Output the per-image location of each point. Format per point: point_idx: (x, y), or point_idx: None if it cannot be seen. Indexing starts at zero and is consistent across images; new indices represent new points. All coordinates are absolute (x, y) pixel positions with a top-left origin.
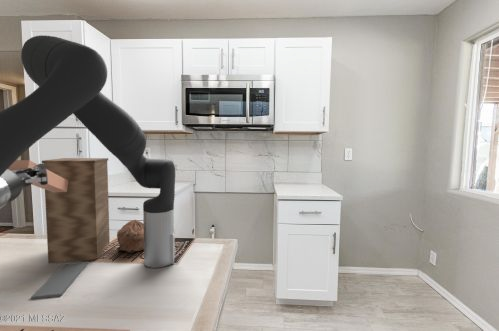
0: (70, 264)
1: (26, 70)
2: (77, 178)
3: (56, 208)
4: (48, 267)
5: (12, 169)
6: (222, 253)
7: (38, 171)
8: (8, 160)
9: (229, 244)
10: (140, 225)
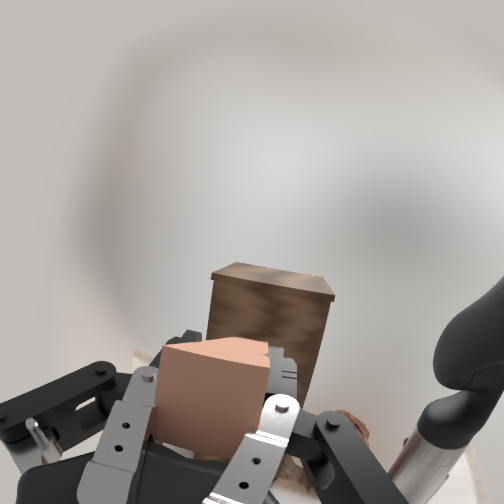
0: None
1: None
2: (282, 332)
3: None
4: None
5: (170, 409)
6: (474, 477)
7: (306, 440)
8: None
9: (472, 454)
10: (361, 429)
